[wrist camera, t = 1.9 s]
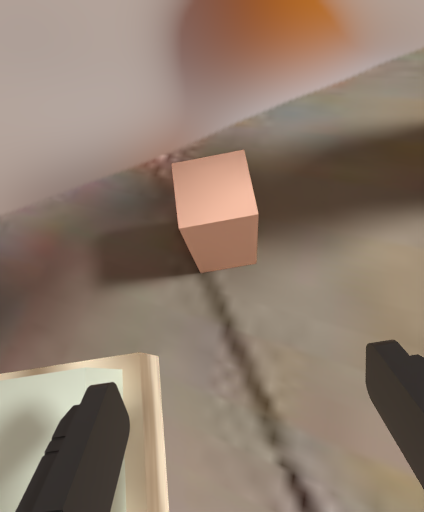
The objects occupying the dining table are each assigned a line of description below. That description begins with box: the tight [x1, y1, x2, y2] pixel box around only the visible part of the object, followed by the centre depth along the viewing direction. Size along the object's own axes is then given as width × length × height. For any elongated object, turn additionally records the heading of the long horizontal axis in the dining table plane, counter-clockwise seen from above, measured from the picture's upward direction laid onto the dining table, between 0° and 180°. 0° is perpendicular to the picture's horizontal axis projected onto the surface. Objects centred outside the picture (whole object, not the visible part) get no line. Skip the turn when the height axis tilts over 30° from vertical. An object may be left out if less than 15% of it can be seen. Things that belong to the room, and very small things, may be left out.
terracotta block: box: [172, 150, 259, 273], centre depth 24 cm, size 5×5×9 cm
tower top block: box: [0, 367, 126, 512], centre depth 17 cm, size 10×10×5 cm
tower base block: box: [0, 352, 169, 512], centre depth 22 cm, size 12×12×5 cm
